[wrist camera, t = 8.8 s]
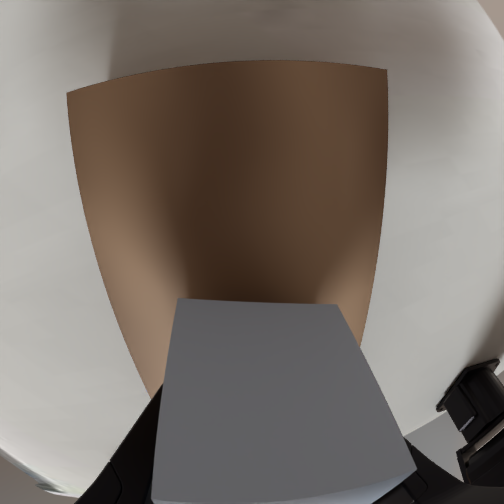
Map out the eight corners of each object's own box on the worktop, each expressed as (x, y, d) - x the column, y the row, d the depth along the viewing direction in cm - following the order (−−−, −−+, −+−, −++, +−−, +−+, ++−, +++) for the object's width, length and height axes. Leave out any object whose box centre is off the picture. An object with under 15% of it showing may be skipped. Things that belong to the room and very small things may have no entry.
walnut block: (341, 78, 11) (387, 69, 8) (320, 384, 20) (335, 429, 16) (109, 95, 10) (66, 92, 7) (180, 399, 19) (176, 446, 15)
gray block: (336, 304, 9) (417, 469, 4) (303, 397, 12) (336, 524, 6) (177, 297, 9) (151, 499, 3) (182, 397, 11) (177, 536, 6)
